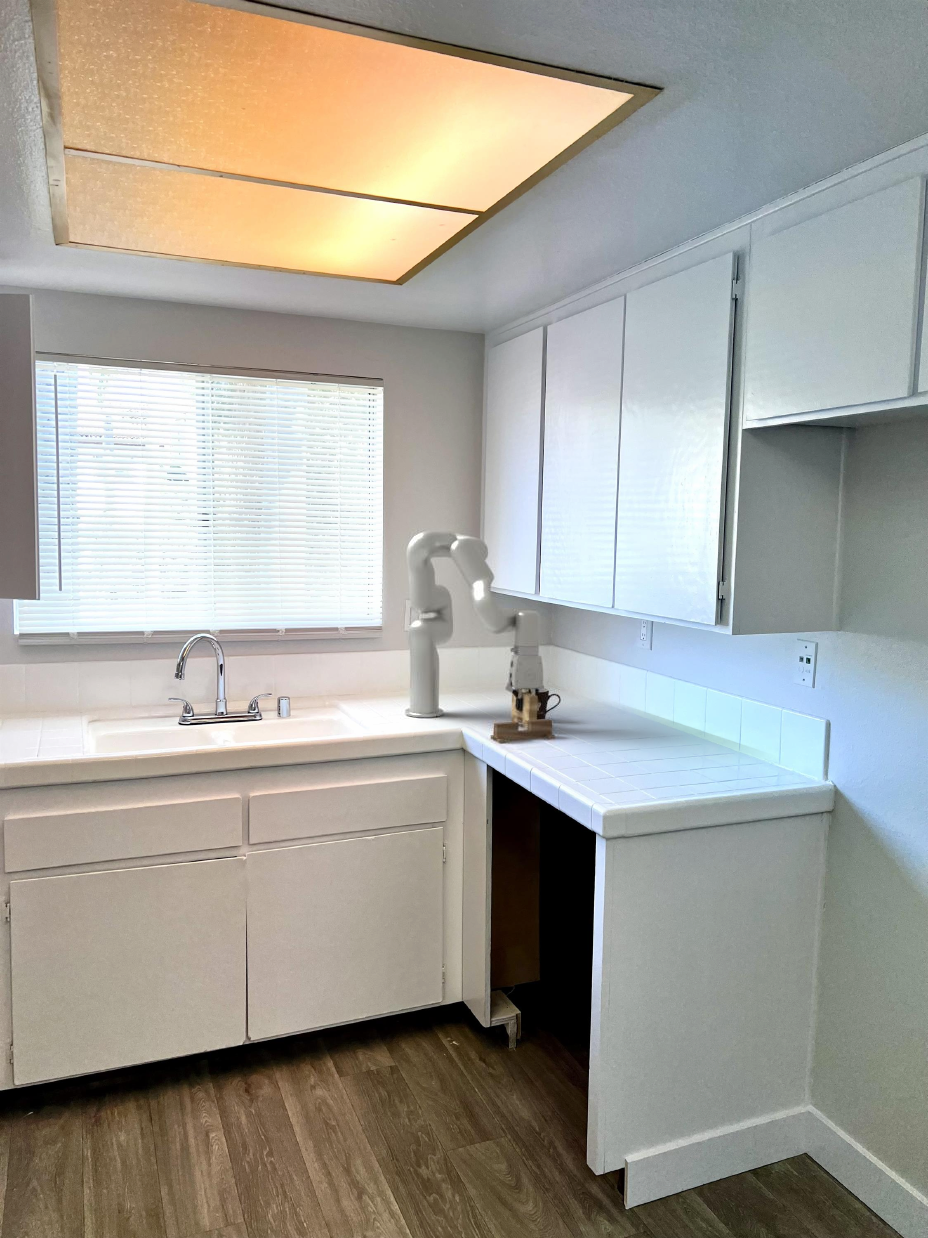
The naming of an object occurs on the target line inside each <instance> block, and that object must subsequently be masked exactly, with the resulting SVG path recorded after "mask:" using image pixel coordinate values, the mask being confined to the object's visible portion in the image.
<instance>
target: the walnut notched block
mask: <svg viewBox="0 0 928 1238" xmlns="http://www.w3.org/2000/svg"><path fill="white" fill-rule="evenodd" d="M519 725H520V723H518V722H516V721H514V722H513V721H503V722H502V721H501V722H493V733H492V735H491V734H490V740H492V739H493V740H492V741H494V742H496V743H498V744H506V742H508V740H510V741H519V740H533V739H543V738H544V739H548V740H550V739H555V738H556V735H555V734H554V733H553V720H552V719H550V718H545V719H539V720H528V722H527V728H526V729H521V730H519Z"/></svg>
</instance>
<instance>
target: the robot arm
mask: <svg viewBox="0 0 928 1238" xmlns="http://www.w3.org/2000/svg"><path fill="white" fill-rule="evenodd" d="M488 556H489V548H488V546H487V544H486V542H484V540H482V539H481V538H478V537H474V536H470V535H465V534H461V533H457V532H453V531H447V530H427V531H421V532H419V533H417V534H416V535H415V536H413V537H412V538H411V540H410V541H409V543H408V545H407V548H406V563H407V569H408V570H407V571H408V587H409V602H410V607H411V609H412V611H413V612H414V613H416V614H419V615H426V614H427V617H422V618H418V619H416V620H414V621H413V622H412V623H411V624H410V625H409V627H408V629H407V641H408V647H409V658H410V659H409V660H410V661H409V664H410V665H409V670H410V673H409V676H410V680H409V681H410V683H409V691H410V692H409V707H408V708H406V709H405V712H404V714H405V715H406V716H409V717H414V718H436V716H437V717H440V716H442V715H444V710H443V709H442V708H440V657H439V652H438V649H437V646H440V645H444V644H447V643H448V642H449V641H450V640H451V638H452V637H453V634H454V618H453V600H452V595H451V593H450V591H449V590H448V588H447V587H446V586H445V585H443V584H441V583H436V577H435V576H436V573H435V572H436V571H435V569H434V568H435V567H434V565H433V563H432V561H431V559H433V558H451V559H452V561H453V563H454V564H455V566H456V567H457V569H458V570H459V572H460V573H461V575H462V577H463V579H464V581H465V582H466V583H467V585H468V587H469V589H470V595H471V596H470V598H471V601H472V603H471V604H472V607H473V609H474V612H475V613H476V616H477V617H478V619H479V620H480V622H481V624H482V625H483V627H484V628H485V630H487V631H488V632H489V633H491V634H494V635H500V634H505V633H506V634H507V633H512V632H514V644H513V647H510V653H513V654H512V656H511V660H510V664H509V670H508V682H507V684H506V686H505V691H507V692H509V693H511V695H512V694H513V695H514V696H515V697H516V704H515V707H516V710H518V711H522V710H523V699H522V689H528V693H531V694H533V695H536V694H537V693H538V692H539V691H541V690H542V689H544V688H545V685H544V667H543V666H544V665H543V659H542V655H540V635H541V634H540V633H541V614H540V612H539V611H535V610H529V609H528V610H527V609H525V610H524V609H523V610H522V609H519V608H513V607H506V608H505V607H503V608H500V607H499V606H498V604H497V603H496V601H495V600H494V599H495V598H494V597H493V595H492V590H491V586H492V584H493V581H494V579H495V575H494V573H493V571H492V569H491V567H489V564H488V563H487V561H486V560H487V559H488ZM514 689H515V690H514Z"/></svg>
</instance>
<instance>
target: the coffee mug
mask: <svg viewBox="0 0 928 1238" xmlns="http://www.w3.org/2000/svg"><path fill="white" fill-rule="evenodd" d="M522 690H523V691H526V692H528V689H522ZM535 696H538V701H537V720H539V719H546V717H547V713H548V712H550V711H552V710H554V709H556V708H557V707H558V706H559V705H560V703H561V701H562V698H561V696H560V695H559V694H558V693H551V694H550V689H549V688H545V687H544V689H542V690H541V691H539V692H538V693H537V694H536V695H535ZM553 696H555V697H557V698H558V702H557V703H556V704H555V705H553V706H552V707H551V708H548V703H549V702H548V701H550V698H552V697H553Z"/></svg>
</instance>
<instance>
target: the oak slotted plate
mask: <svg viewBox="0 0 928 1238" xmlns="http://www.w3.org/2000/svg"><path fill="white" fill-rule="evenodd" d="M513 689H514V690H515V688H513ZM522 699H523V710H522V711H518V710H516V707H515V704H516V697H515V696H514V695H513V694H512V693H511V714H510V717H511V718H510V722H514V721H516V722H518V723H519V724H522V727H523V728H525V729H527V722H528V720H537V701H538V696H535V695H533V694H531V693H528V692H526V691H523V690H522Z"/></svg>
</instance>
